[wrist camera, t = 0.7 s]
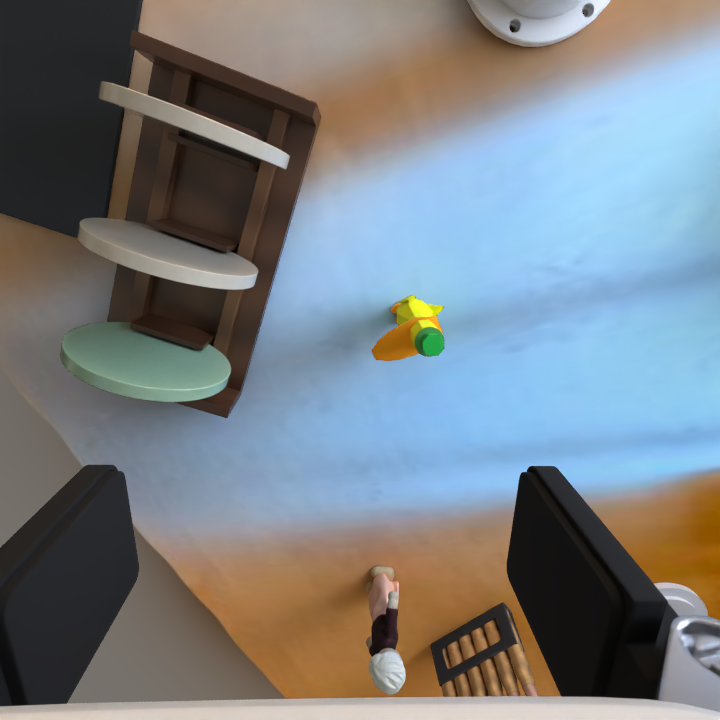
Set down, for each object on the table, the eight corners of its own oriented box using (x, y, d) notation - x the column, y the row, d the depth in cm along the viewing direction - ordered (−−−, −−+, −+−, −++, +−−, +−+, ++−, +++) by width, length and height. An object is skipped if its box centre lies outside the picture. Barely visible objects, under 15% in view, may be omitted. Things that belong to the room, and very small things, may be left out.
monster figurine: (641, 671, 58) (699, 764, 48) (584, 623, 55) (634, 713, 46) (721, 618, 55) (800, 705, 46) (666, 565, 53) (738, 647, 43)
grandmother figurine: (392, 604, 54) (405, 719, 42) (360, 601, 53) (364, 716, 41) (402, 551, 51) (418, 657, 39) (368, 549, 51) (374, 654, 39)
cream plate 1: (150, 106, 35) (55, 59, 24) (299, 162, 37) (276, 143, 25) (147, 120, 35) (52, 80, 24) (295, 175, 37) (271, 161, 26)
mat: (-84, -110, 32) (-92, -116, 31) (145, -16, 34) (142, -20, 33) (-93, 179, 38) (-100, 179, 37) (102, 244, 40) (98, 245, 39)
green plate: (113, 310, 40) (20, 352, 29) (245, 352, 42) (206, 407, 30) (111, 321, 40) (18, 366, 29) (242, 362, 42) (203, 420, 31)
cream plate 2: (130, 215, 38) (35, 219, 26) (270, 263, 39) (238, 287, 28) (128, 227, 38) (33, 236, 27) (267, 274, 39) (234, 302, 28)
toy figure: (376, 343, 43) (386, 392, 32) (360, 310, 42) (365, 348, 31) (442, 313, 42) (476, 352, 31) (427, 278, 41) (457, 306, 30)
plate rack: (161, 53, 35) (131, 29, 30) (321, 116, 37) (316, 102, 32) (106, 354, 43) (75, 373, 38) (240, 395, 45) (227, 418, 40)
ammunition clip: (438, 653, 56) (461, 766, 45) (429, 644, 56) (450, 757, 44) (511, 611, 54) (554, 718, 43) (503, 602, 54) (544, 708, 43)
